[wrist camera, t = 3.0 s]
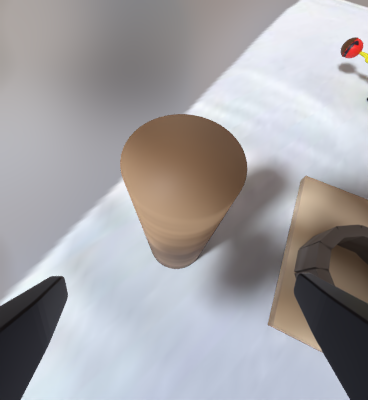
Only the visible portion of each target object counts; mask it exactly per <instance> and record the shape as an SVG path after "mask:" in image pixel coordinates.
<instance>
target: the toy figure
mask: <svg viewBox="0 0 368 400" xmlns="http://www.w3.org/2000/svg"><path fill="white" fill-rule="evenodd" d="M362 49H363V42H362V41H361V40H360V39H358V38H351V39H349V40H347V41H346V42H345V43H344V44H343V46H342V48H341V55H342V57H345V58H353V57H355V56H357V55H358V54H360V55H361V56H363V57H364V58H365V62H366V63H368V54H367V53H365V52H362ZM367 100H368V98H367Z"/></svg>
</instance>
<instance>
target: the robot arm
mask: <svg viewBox="0 0 368 400" xmlns="http://www.w3.org/2000/svg"><path fill="white" fill-rule="evenodd" d="M294 295H295V298H296V300H297V302H298V304H299V306H300V308H301V311H302V313H303V315H304V317H305V319H306V321H307V323H308V325H309V328H310V330H311V332H312V334H313V336H314V337H315V339H316V341H317V343H318V345H319V346H320V348H321V350H322V352H323V353H324V355H325V357H326V359H327V360H328V362H329V364H330V365H331V367H332V369H333V371H334V372H335V374H336V376H337V378H338V379H339V381H340V383H341V385H342V386H343V388H344V390H345V391H346V393H347V395H348V397H349V398H350V400H368V303H366V302H364V301H362V300H360V299H358V298H357V297H355V296H353V295H351V294H349V293H347V292H345V291H343V290H341V289H340V288H338V287H336V286H334V285H332V284H330V283H328V282H326V281H324V280H322V279H321V278H319V277H317V276H315V275H313V274H311V273H299V274H298V275H297V278H296V282H295V286H294ZM67 297H68V293H67V288H66V283H65V279H64V277H63V276H51V277H49V278H47V279H46V280H44V281H42V282H41V283H39V284H37V285H36V286H34V287H32V288H30V289H29V290H27V291H25V292H24V293H22V294H20V295H19V296H17V297H15V298H14V299H12V300H10V301H8V302H7V303H5V304H3V305H2V306H0V400H21V398H22V396H23V394H24V392H25V390H26V388H27V386H28V384H29V382H30V380H31V378H32V377H33V375H34V373H35V371H36V369H37V367H38V365H39V363H40V361H41V359H42V357H43V355H44V353H45V351H46V349H47V347H48V345H49V343H50V340H51V338H52V336H53V333H54V331H55V328H56V326H57V323H58V321H59V318H60V316H61V313H62V311H63V308H64V306H65V303H66V301H67Z"/></svg>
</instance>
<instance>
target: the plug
mask: <svg viewBox="0 0 368 400" xmlns="http://www.w3.org/2000/svg"><path fill="white" fill-rule="evenodd" d="M120 166H121V173H122V177H123V180H124V182H125V185H126V187H127V190H128V193H129V195H130V198H131V200H132V203H133V205H134V208H135V210H136V213H137V215H138V218H139V220H140V223H141V225H142V228H143V230H144V233H145V235H146V238H147V240H148V243H149V245H150V248H151V250H152V253H153V255H154V257H155V258H156V260H157V261H158V262H159V263H161V264H162V265H164V266H166V267H168V268H172V269H180V268H185V267H187V266H189V265H191V264H192V263H193V262H194V261H195V260H196V259H197V258H198V256H199V255H200V253H201V252H202V250H203V249H204V247H205V245H206V244H207V242H208V241H209V239H210V238H211V236H212V235H213V233H214V231H215V230H216V228H217V227H218V225H219V224H220V222H221V221H222V219H223V218H224V216H225V214H226V213H227V211H228V210H229V208H230V207H231V205H232V204H233V202H234V200H235V199H236V197H237V196H238V194H239V193H240V191H241V190H242V187H243V185H244V183H245V180H246V175H247V161H246V157H245V154H244V151H243V149H242V147H241V145H240V144H239V142H238V141H237V139H236V138H235V137H234V136H233V135H232V134H231V133H230V132H229V131H228V130H227V129H225V128H224V127H222V126H221V125H219V124H217V123H216V122H213V121H211V120H209V119H206V118H203V117H199V116H195V115H187V114H177V115H168V116H164V117H159V118H157V119H154V120H151V121H149V122H147V123H145V124H144V125H142V126H141V127H139V128H138V129H137V130H136V131H135V132H134V133H133V134H132V135H131V136H130V137H129V139H128V141H127V142H126V144H125V146H124V148H123V151H122V154H121V160H120Z"/></svg>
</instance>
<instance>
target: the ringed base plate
mask: <svg viewBox="0 0 368 400" xmlns="http://www.w3.org/2000/svg"><path fill="white" fill-rule="evenodd" d="M299 273H311V274H313V275H315V276H317V277H319V278H321V279H322V280H324V281H326V282H328V283H330V284H332V285H334V286H336V287H338V288H340V289H341V290H343V291H345V292H347V293H349V294H351V295H353V296H355V297H357V298H358V299H360V300H362V301H364V302H366V303H368V200H367V199H364V198H362V197H359V196H357V195H354V194H352V193H349V192H346V191H344V190H341V189H339V188H336V187H334V186H331V185H328V184H326V183H323V182H321V181H318V180H316V179H313V178H310V177H308V176H305V177H304V178H303V179H302V180H301V182H300V186H299V191H298V195H297V199H296V204H295V208H294V212H293V217H292V221H291V226H290V230H289V234H288V239H287V243H286V247H285V252H284V256H283V260H282V265H281V269H280V273H279V278H278V282H277V286H276V291H275V295H274V299H273V304H272V308H271V312H270V317H269V321H268V325H269V326H271V327H273V328H275V329H277V330H279V331H281V332H283V333H285V334H287V335H289V336H291V337H293V338H295V339H297V340H299V341H301V342H303V343H305V344H307V345H309V346H311V347H313V348H315V349H317V350H318V351H320V352H322V350H321V348H320V346H319V345H318V343H317V341H316V339H315V337H314V336H313V334H312V332H311V330H310V328H309V325H308V323H307V321H306V319H305V317H304V315H303V313H302V311H301V308H300V306H299V304H298V302H297V300H296V298H295V295H294V286H295V282H296V278H297V275H298V274H299ZM322 353H323V352H322Z"/></svg>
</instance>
